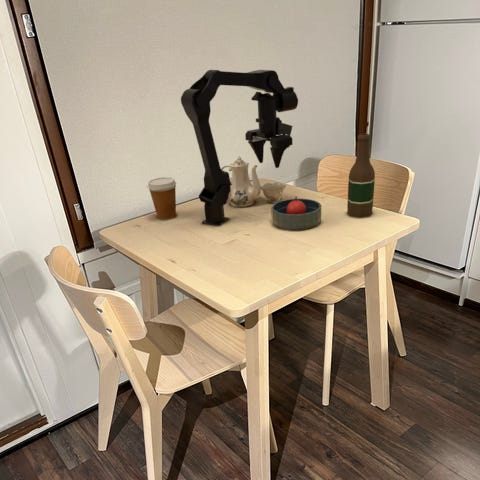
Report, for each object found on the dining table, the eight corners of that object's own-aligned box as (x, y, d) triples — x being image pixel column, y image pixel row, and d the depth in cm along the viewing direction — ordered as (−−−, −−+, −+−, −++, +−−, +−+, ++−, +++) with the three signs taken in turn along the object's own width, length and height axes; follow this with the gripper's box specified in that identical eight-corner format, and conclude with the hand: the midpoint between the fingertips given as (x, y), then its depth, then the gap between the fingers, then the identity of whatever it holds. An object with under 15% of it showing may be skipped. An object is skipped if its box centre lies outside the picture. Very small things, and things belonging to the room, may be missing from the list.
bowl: (309, 233, 144) (309, 217, 141) (263, 227, 151) (263, 211, 148) (328, 216, 155) (328, 201, 152) (284, 211, 161) (284, 196, 159)
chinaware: (292, 202, 173) (294, 153, 166) (269, 212, 161) (270, 160, 153) (227, 194, 187) (225, 148, 179) (201, 203, 174) (198, 155, 167)
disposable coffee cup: (178, 220, 162) (173, 184, 155) (150, 222, 162) (144, 186, 156) (182, 210, 170) (177, 176, 163) (155, 212, 170) (149, 177, 164)
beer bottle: (372, 218, 151) (378, 136, 138) (346, 217, 152) (350, 137, 140) (371, 209, 157) (377, 131, 145) (347, 209, 159) (350, 132, 146)
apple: (301, 223, 149) (301, 200, 145) (283, 221, 151) (283, 198, 148) (309, 217, 153) (309, 194, 149) (291, 215, 156) (291, 192, 152)
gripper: (306, 113, 149) (306, 165, 158) (271, 108, 163) (272, 156, 171) (276, 119, 145) (278, 172, 153) (243, 113, 159) (246, 162, 167)
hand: (269, 165), depth 161 cm, fingers open, 9 cm apart
